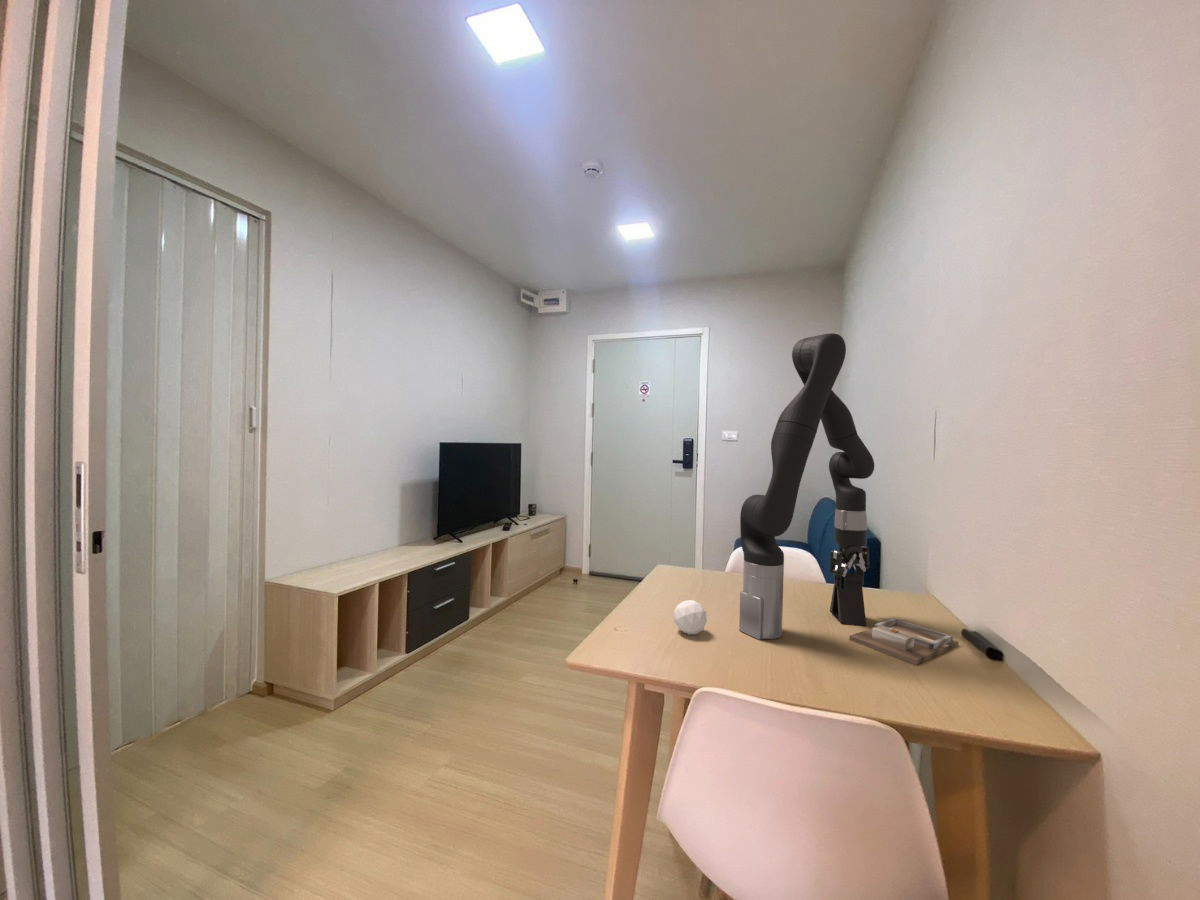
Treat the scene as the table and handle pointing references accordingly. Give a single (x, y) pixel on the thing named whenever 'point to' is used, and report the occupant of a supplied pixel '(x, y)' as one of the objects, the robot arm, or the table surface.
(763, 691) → the table surface
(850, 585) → the black tent sign
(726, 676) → the table surface
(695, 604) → the geometric ball
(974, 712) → the table surface
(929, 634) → the mouse trap
